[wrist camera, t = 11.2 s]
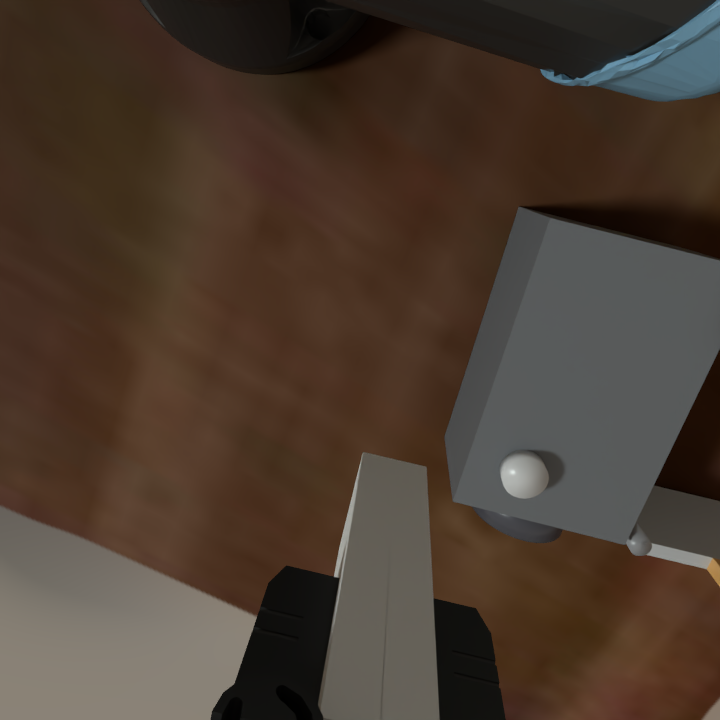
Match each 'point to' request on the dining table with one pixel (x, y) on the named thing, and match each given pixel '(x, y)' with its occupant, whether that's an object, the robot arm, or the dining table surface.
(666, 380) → the block
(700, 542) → the door
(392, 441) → the dining table surface
